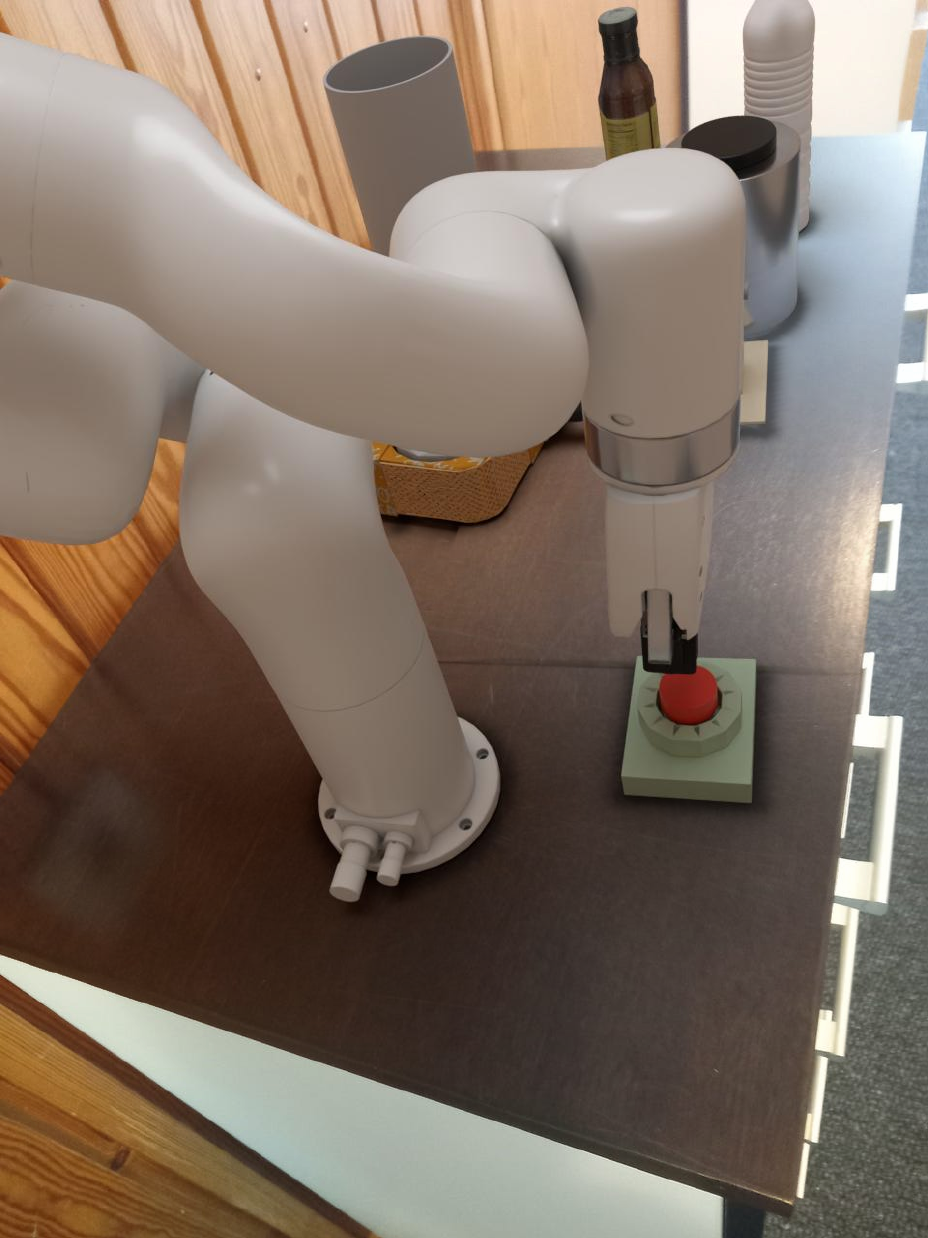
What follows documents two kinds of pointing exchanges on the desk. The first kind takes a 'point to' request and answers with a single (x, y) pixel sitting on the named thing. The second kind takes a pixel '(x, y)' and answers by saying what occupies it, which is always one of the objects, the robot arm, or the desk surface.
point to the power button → (689, 696)
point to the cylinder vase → (398, 125)
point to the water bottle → (782, 74)
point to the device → (448, 481)
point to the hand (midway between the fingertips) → (670, 663)
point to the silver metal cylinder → (761, 207)
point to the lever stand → (753, 378)
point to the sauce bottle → (625, 88)
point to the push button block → (693, 739)
